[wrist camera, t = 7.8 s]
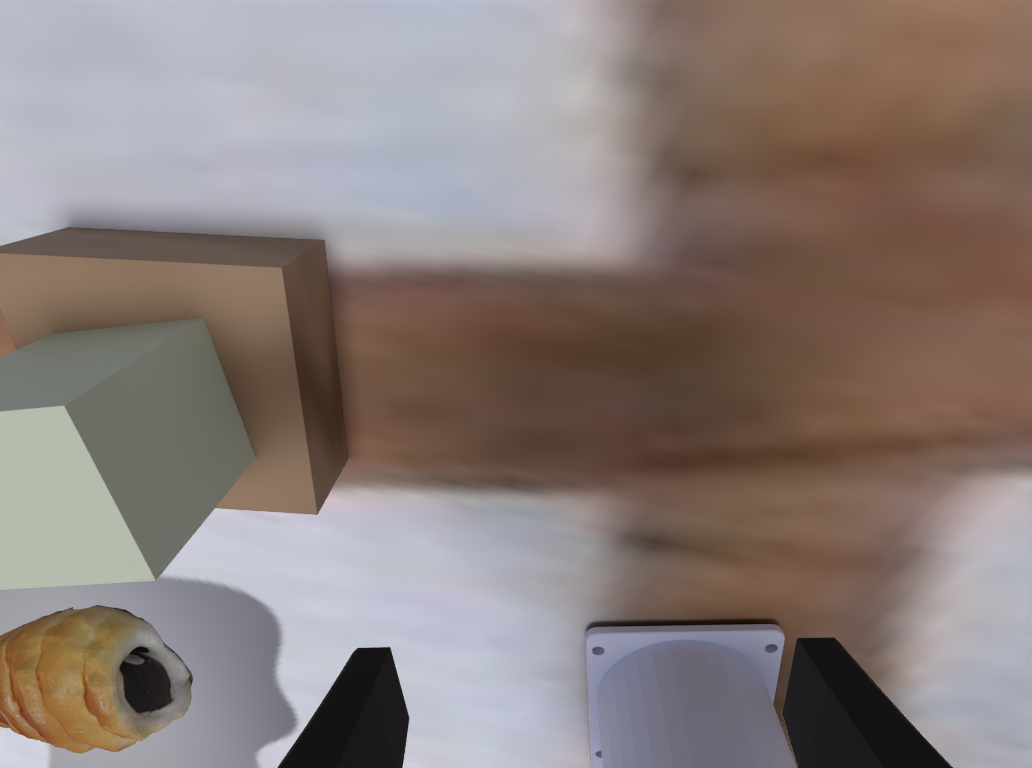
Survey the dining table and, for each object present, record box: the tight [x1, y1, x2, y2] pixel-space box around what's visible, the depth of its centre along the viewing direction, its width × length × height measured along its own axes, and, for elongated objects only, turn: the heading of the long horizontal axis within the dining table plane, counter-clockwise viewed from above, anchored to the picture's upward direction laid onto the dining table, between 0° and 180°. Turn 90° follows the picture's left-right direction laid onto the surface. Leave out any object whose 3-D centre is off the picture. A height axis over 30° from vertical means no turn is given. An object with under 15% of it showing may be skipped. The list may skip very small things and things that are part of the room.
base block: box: [0, 227, 348, 515], centre depth 18 cm, size 8×8×4 cm
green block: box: [0, 318, 256, 590], centre depth 15 cm, size 4×4×5 cm
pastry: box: [0, 605, 193, 753], centre depth 25 cm, size 9×7×4 cm
